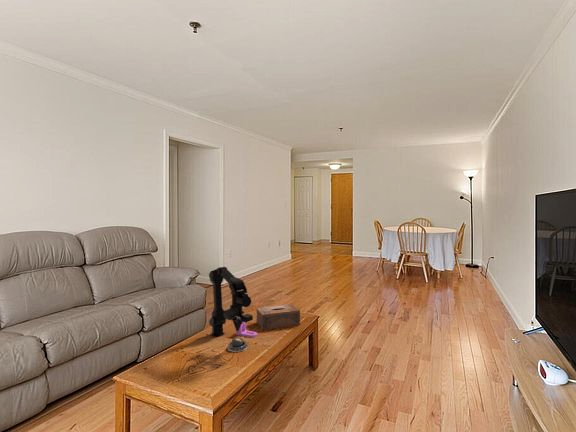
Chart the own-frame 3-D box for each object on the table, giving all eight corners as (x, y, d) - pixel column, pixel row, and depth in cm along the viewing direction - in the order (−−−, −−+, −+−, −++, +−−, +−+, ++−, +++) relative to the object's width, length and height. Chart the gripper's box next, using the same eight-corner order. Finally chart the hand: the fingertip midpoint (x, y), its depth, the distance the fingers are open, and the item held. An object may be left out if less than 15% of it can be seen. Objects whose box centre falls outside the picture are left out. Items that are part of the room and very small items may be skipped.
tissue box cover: (292, 318, 234) (292, 304, 234) (299, 325, 221) (299, 310, 220) (256, 322, 225) (256, 308, 225) (262, 330, 212) (262, 314, 212)
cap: (229, 347, 185) (229, 340, 185) (237, 343, 190) (237, 336, 189) (237, 350, 181) (237, 342, 181) (245, 346, 186) (245, 339, 186)
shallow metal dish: (223, 348, 184) (223, 344, 184) (237, 341, 193) (237, 338, 193) (237, 353, 177) (237, 349, 177) (251, 346, 186) (251, 343, 186)
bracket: (235, 334, 204) (235, 323, 204) (240, 331, 209) (240, 320, 209) (254, 338, 199) (254, 326, 199) (258, 334, 204) (258, 323, 204)
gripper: (214, 303, 184) (215, 331, 184) (238, 309, 173) (238, 339, 173) (229, 298, 193) (230, 325, 193) (253, 304, 181) (253, 332, 182)
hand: (237, 330), depth 185 cm, fingers closed
